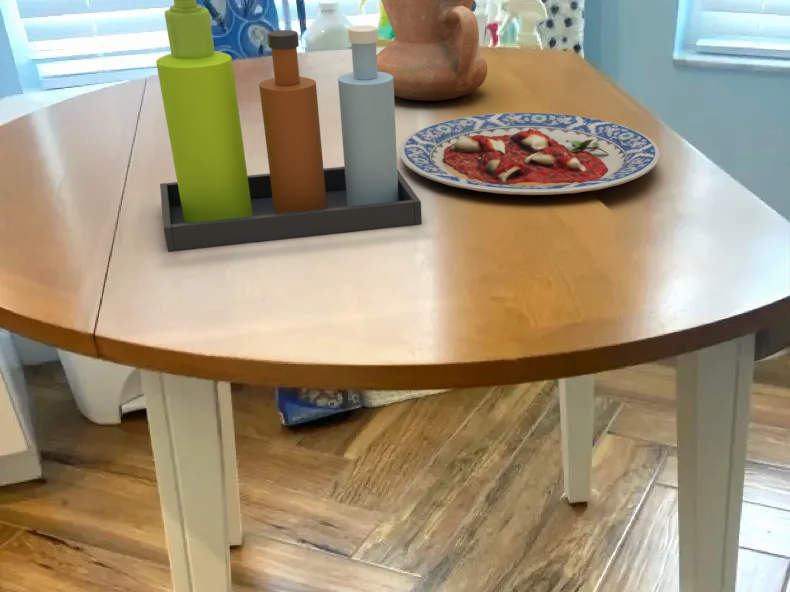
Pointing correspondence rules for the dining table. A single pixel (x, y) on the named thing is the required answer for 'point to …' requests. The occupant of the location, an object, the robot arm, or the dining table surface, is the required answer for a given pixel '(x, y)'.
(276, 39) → the amber bottle
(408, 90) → the ceramic jug
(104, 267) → the dining table surface
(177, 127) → the soap dispenser
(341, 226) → the tray
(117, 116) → the dining table surface
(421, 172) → the ceramic plate
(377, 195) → the pale blue bottle
